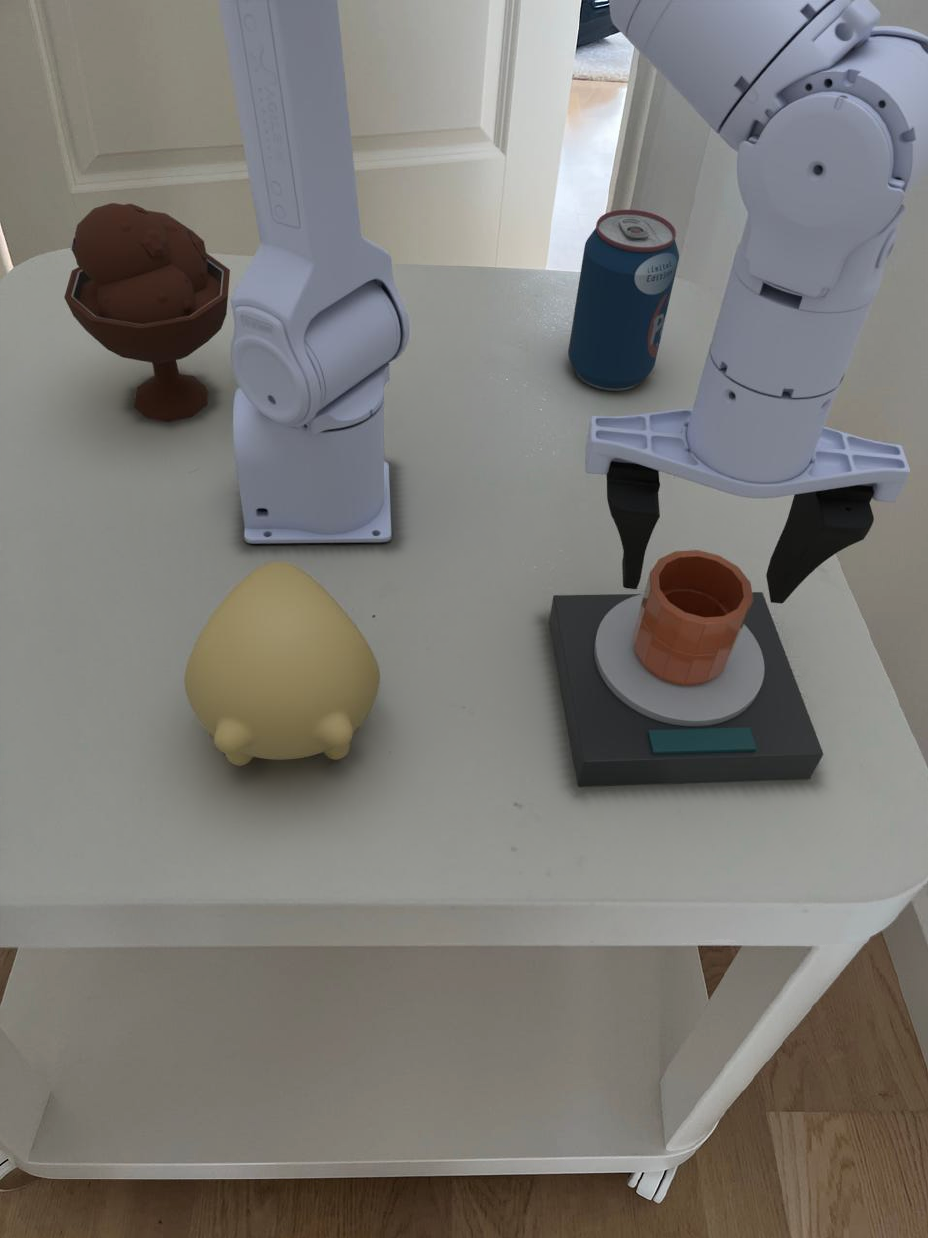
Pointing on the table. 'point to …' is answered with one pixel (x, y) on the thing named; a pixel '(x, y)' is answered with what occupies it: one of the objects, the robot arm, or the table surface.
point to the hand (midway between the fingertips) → (701, 582)
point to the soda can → (622, 298)
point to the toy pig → (281, 670)
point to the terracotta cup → (691, 616)
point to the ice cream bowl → (148, 299)
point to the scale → (676, 703)
